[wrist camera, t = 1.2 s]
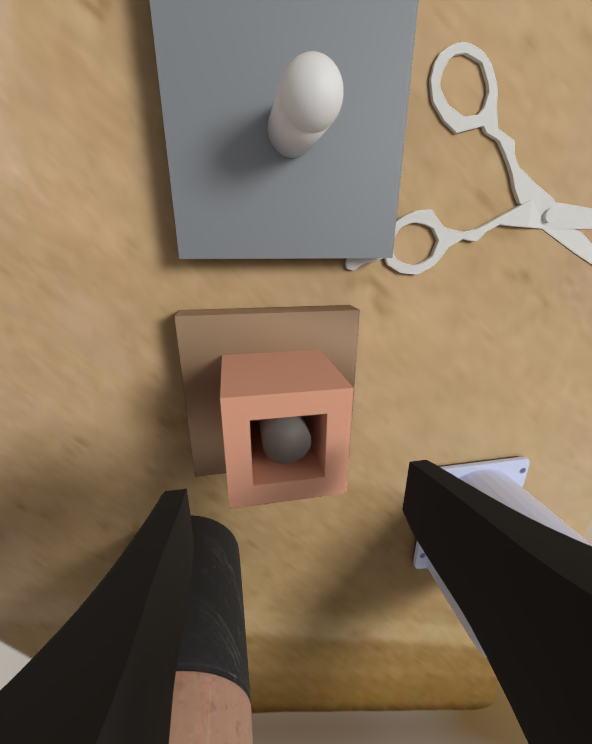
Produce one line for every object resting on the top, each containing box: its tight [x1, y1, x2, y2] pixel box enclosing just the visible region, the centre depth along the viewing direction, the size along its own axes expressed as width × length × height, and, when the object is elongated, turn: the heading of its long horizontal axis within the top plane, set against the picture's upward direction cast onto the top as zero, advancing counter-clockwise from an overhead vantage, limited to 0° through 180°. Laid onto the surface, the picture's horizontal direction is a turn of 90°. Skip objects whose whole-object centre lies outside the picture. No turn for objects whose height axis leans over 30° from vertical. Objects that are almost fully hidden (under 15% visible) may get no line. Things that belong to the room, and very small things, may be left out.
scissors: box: [345, 42, 592, 275], centre depth 19 cm, size 11×1×20 cm
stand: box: [175, 305, 360, 477], centre depth 16 cm, size 9×9×6 cm
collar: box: [220, 350, 354, 509], centre depth 16 cm, size 5×5×5 cm
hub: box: [149, 0, 419, 259], centre depth 12 cm, size 10×10×6 cm
